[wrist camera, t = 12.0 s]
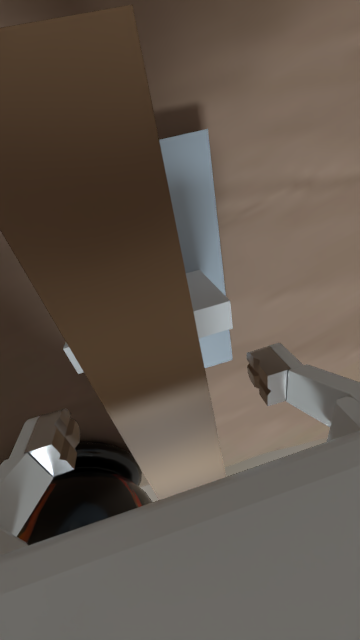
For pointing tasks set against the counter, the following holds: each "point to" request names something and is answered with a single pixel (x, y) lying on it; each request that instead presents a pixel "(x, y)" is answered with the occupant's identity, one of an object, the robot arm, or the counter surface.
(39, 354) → the counter surface
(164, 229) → the wooden block
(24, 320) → the counter surface
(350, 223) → the counter surface
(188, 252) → the balance stand
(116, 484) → the amphora vase
